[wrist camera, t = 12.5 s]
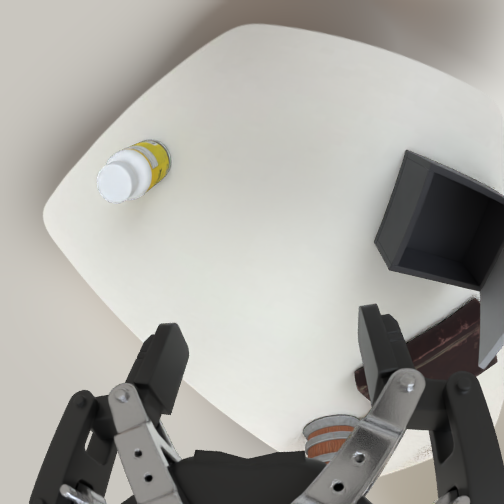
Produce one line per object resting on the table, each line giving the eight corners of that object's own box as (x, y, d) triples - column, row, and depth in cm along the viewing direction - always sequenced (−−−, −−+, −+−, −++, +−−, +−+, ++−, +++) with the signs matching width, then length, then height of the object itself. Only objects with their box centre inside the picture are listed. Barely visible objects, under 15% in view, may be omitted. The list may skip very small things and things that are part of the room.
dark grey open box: (373, 242, 37) (389, 270, 31) (406, 149, 30) (431, 162, 25) (459, 265, 37) (480, 291, 31) (492, 188, 31) (521, 207, 25)
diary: (352, 368, 49) (356, 390, 44) (473, 293, 39) (486, 312, 35) (390, 404, 54) (394, 423, 50) (488, 346, 45) (498, 363, 40)
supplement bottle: (149, 189, 36) (112, 220, 27) (124, 156, 34) (80, 178, 25) (181, 165, 34) (148, 190, 26) (155, 129, 32) (114, 144, 24)
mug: (290, 428, 61) (289, 485, 48) (361, 397, 53) (371, 461, 40) (325, 444, 65) (327, 494, 52) (390, 416, 57) (400, 470, 44)
